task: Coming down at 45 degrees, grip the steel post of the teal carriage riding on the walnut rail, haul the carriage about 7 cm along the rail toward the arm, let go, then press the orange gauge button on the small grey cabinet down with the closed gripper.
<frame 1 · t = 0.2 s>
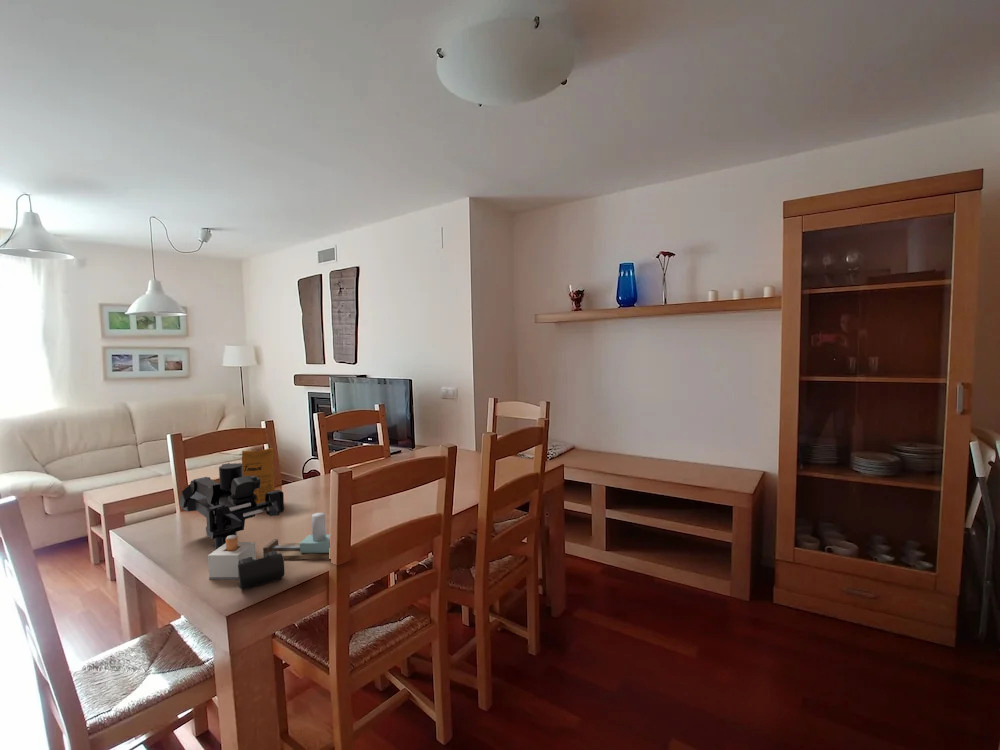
hand: (260, 518, 119), 17 cm above the table, tool horizontal, fingers open, 9 cm apart
carriage: (319, 531, 134), point 6 cm above the table, slide at 0.0 cm
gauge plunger: (231, 542, 124), point 8 cm above the table, slide at 0.0 cm
rail: (305, 553, 135), on the table
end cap: (261, 584, 119), on the table
coffee package: (259, 506, 176), on the table
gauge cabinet: (233, 571, 125), on the table
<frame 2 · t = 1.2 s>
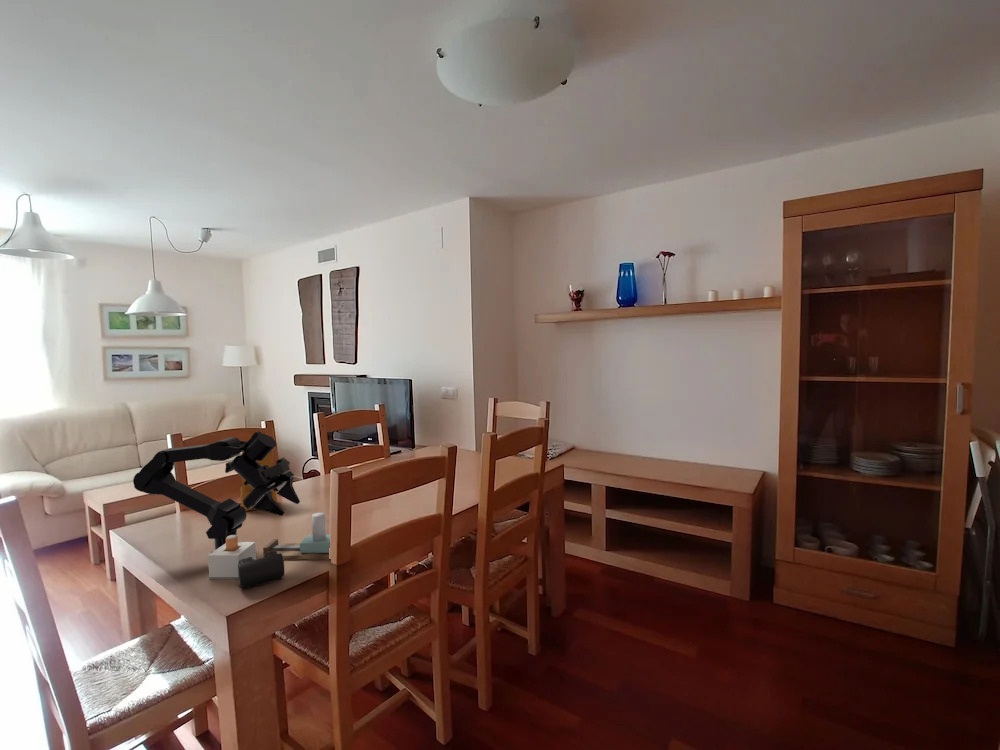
hand: (291, 508, 134), 13 cm above the table, tool tilted 45°, fingers open, 9 cm apart
nothing on the table moved.
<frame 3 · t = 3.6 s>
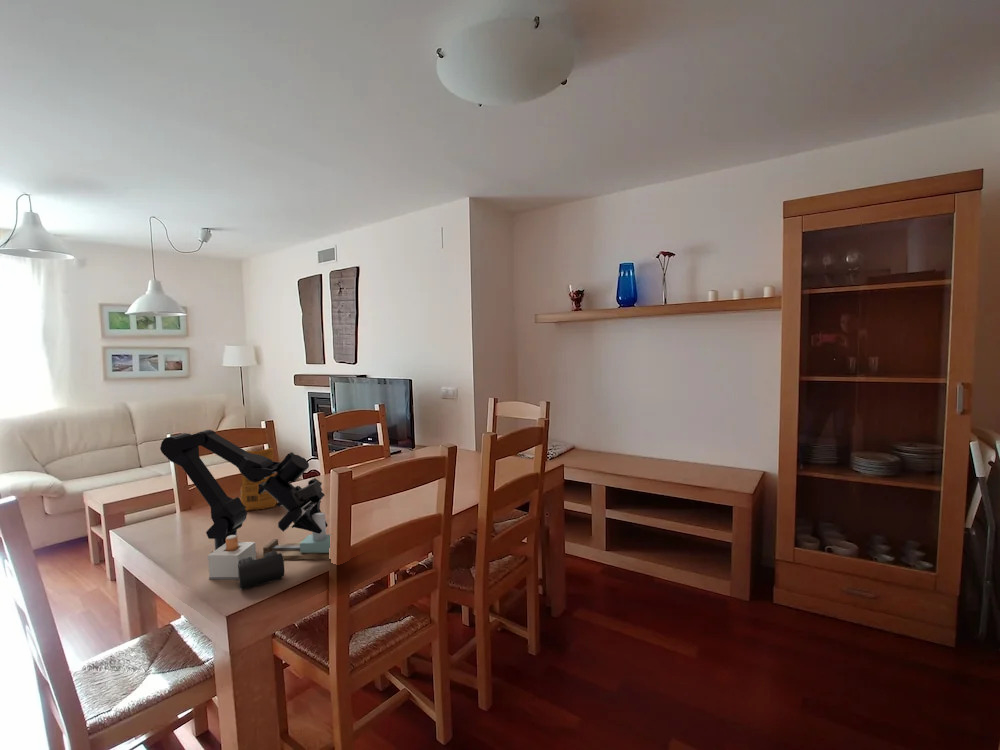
hand: (323, 529, 134), 7 cm above the table, tool tilted 45°, fingers closed on carriage, 4 cm apart
carriage: (319, 531, 134), point 6 cm above the table, slide at 0.0 cm, touching gripper
everything else where it was.
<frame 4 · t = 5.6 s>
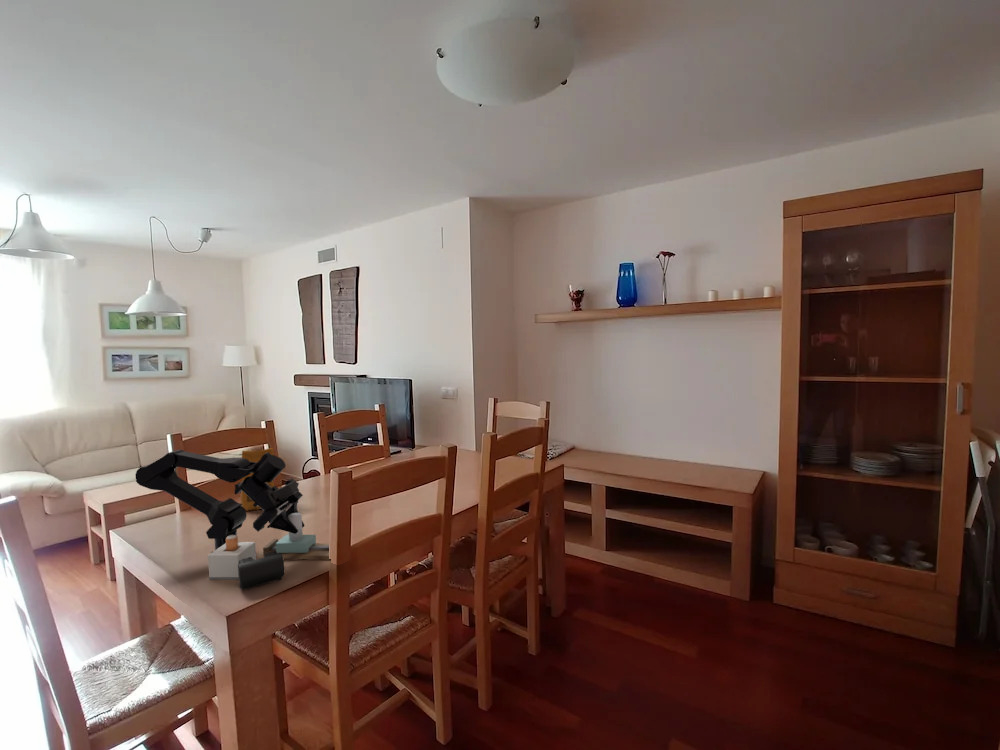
hand: (300, 529, 135), 7 cm above the table, tool tilted 45°, fingers closed on carriage, 4 cm apart
carriage: (295, 531, 135), point 6 cm above the table, slide at -7.0 cm, touching gripper
everything else where it was.
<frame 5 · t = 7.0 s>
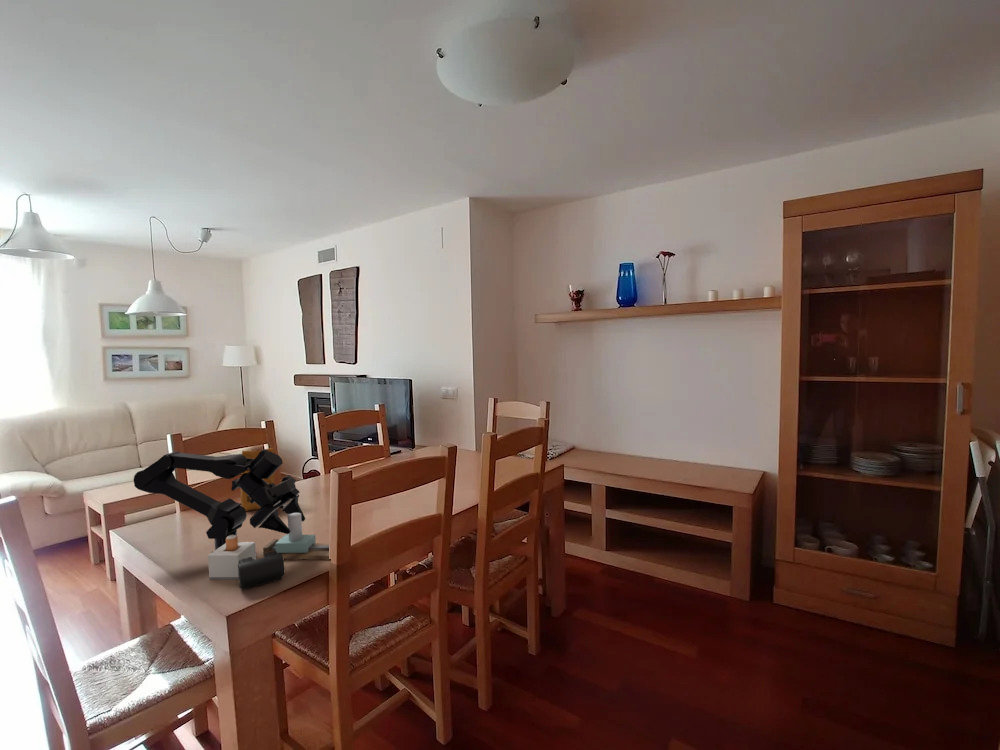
hand: (297, 526, 135), 8 cm above the table, tool tilted 45°, fingers open, 9 cm apart
carriage: (295, 531, 135), point 7 cm above the table, slide at -7.1 cm
everything else where it was.
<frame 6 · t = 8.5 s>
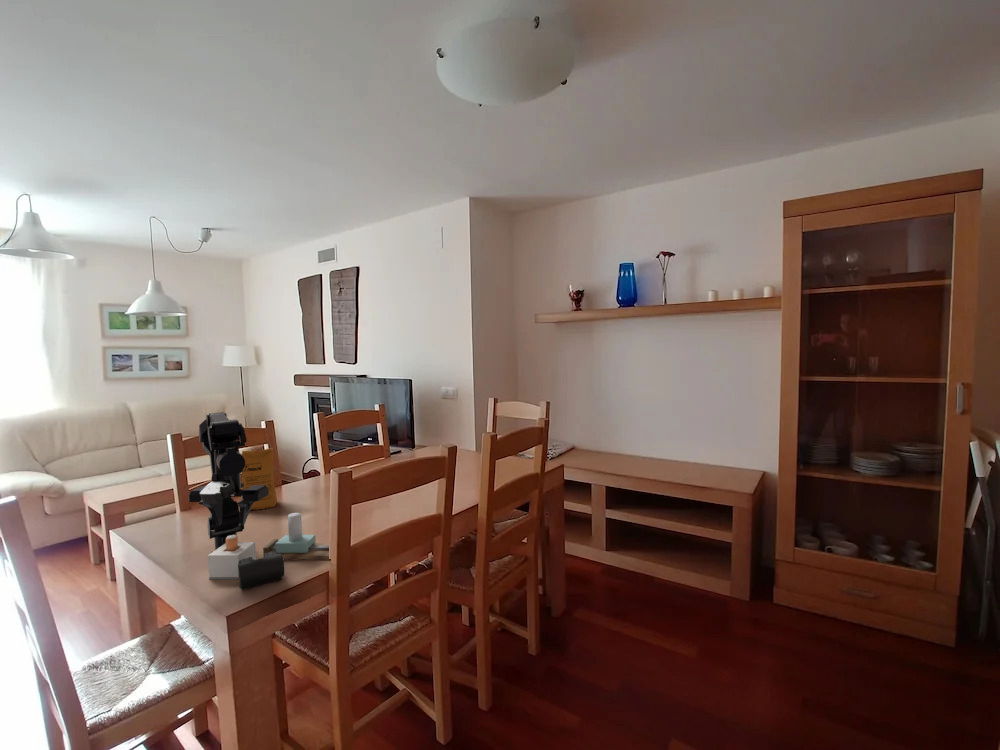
hand: (231, 524, 124), 13 cm above the table, tool pointing down, fingers open, 6 cm apart
nothing on the table moved.
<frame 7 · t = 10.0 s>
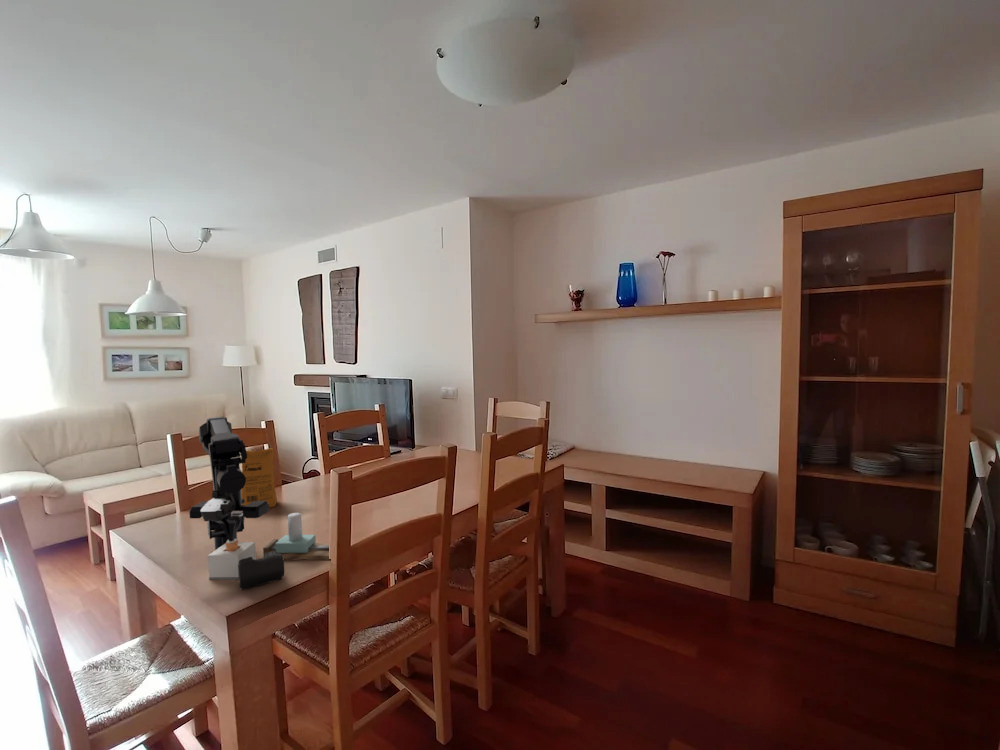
hand: (231, 540, 124), 9 cm above the table, tool pointing down, fingers closed, pressing on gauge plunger
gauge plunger: (232, 546, 124), point 7 cm above the table, slide at -1.1 cm, touching gripper
everything else where it was.
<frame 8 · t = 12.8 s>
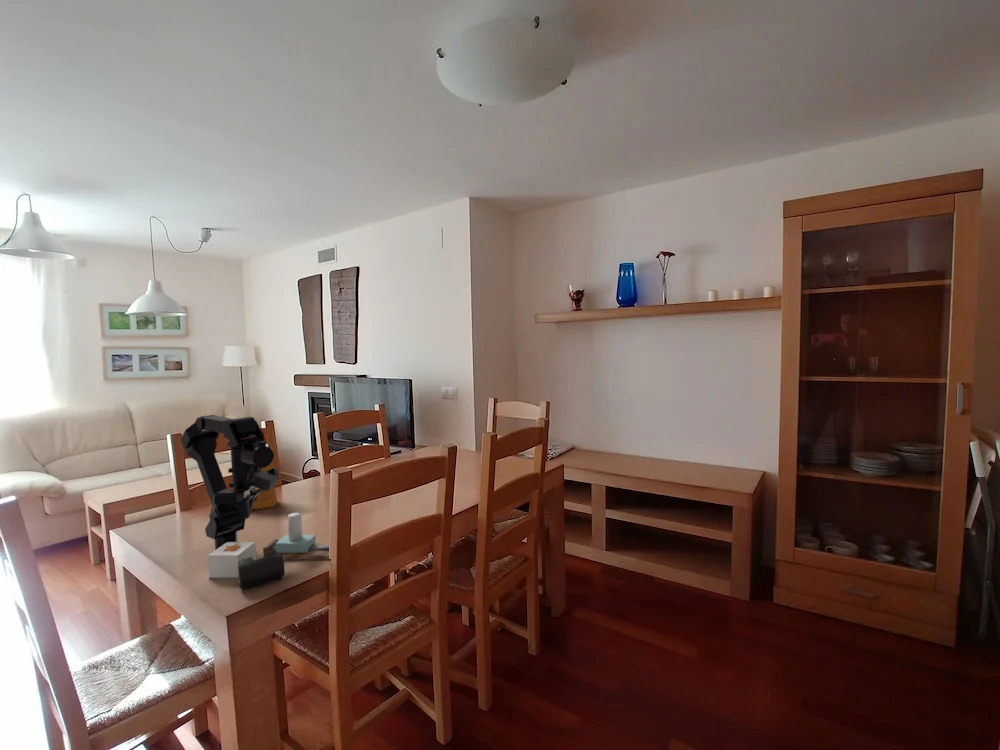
hand: (246, 518, 128), 13 cm above the table, tool pointing down, fingers closed
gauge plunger: (232, 550, 124), point 6 cm above the table, slide at -2.0 cm
everything else where it was.
at the end: carriage slide at -7.1 cm; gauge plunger slide at -2.0 cm; the gripper is holding nothing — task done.
